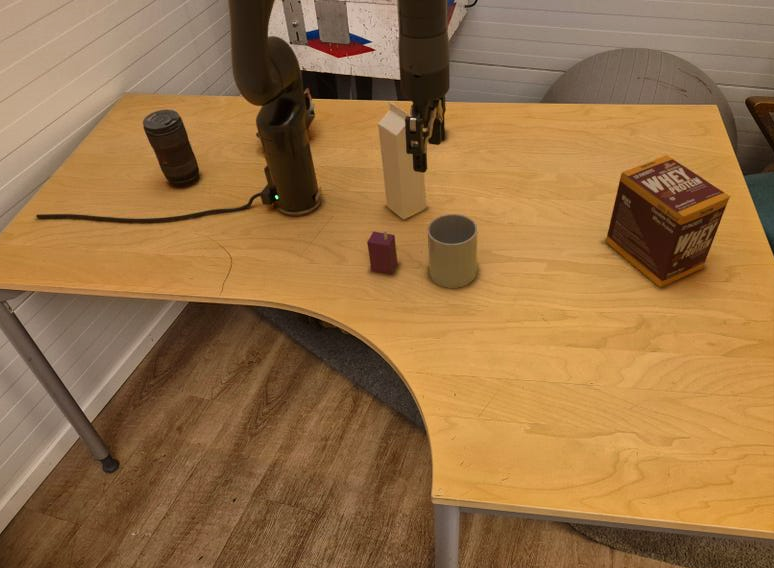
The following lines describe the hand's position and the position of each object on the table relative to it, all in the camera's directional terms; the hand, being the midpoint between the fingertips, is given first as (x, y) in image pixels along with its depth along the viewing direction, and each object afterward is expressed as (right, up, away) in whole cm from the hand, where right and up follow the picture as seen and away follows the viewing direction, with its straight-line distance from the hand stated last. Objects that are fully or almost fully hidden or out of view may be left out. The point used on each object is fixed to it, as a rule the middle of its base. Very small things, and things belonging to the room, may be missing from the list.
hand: (427, 157), depth 106 cm
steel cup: (+5, -18, +12) cm, 22 cm away
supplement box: (+43, -15, +12) cm, 47 cm away
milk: (-4, -2, +26) cm, 26 cm away
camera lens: (-55, +7, +38) cm, 67 cm away
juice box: (-8, -17, +14) cm, 23 cm away
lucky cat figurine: (-33, +20, +47) cm, 61 cm away
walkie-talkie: (+3, +19, +44) cm, 48 cm away
